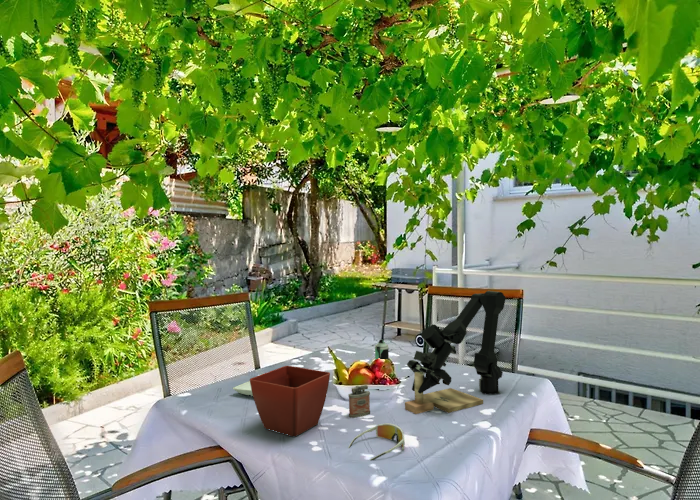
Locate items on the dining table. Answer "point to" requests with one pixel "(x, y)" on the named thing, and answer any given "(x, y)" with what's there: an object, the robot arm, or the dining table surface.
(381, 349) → the spray can
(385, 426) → the sunglasses
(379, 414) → the dining table surface
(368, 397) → the lighter
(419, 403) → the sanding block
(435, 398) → the board
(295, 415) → the plant pot
